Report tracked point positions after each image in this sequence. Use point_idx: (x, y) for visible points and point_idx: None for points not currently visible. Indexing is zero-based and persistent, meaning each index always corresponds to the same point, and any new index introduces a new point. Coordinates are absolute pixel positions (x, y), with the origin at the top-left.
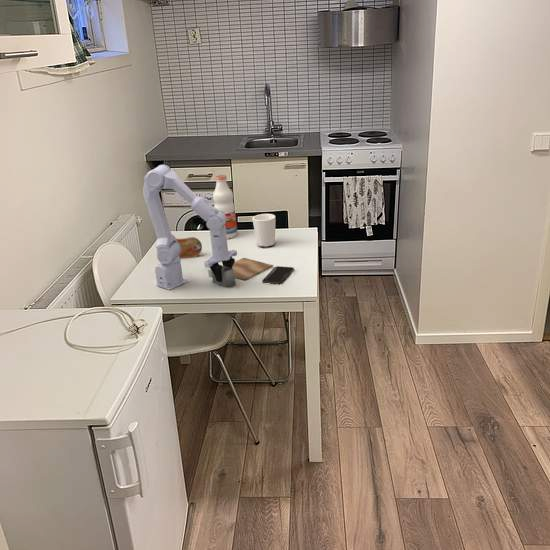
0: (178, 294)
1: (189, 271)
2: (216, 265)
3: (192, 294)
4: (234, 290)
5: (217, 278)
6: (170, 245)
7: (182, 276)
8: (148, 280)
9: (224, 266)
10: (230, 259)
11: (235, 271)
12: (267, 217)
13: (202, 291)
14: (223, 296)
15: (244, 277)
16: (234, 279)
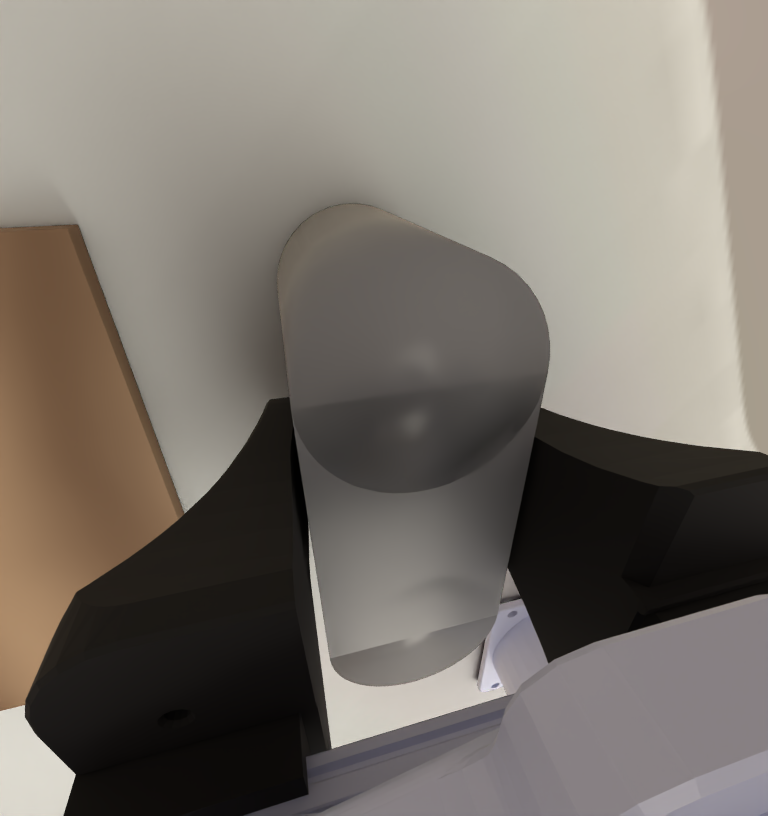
0: None
1: (359, 714)
2: (725, 577)
3: (676, 409)
4: (446, 67)
5: None
6: None
7: (542, 656)
8: None
9: (330, 582)
10: (211, 707)
11: (50, 545)
12: None
13: (604, 396)
14: (665, 59)
15: (33, 293)
16: (332, 224)
